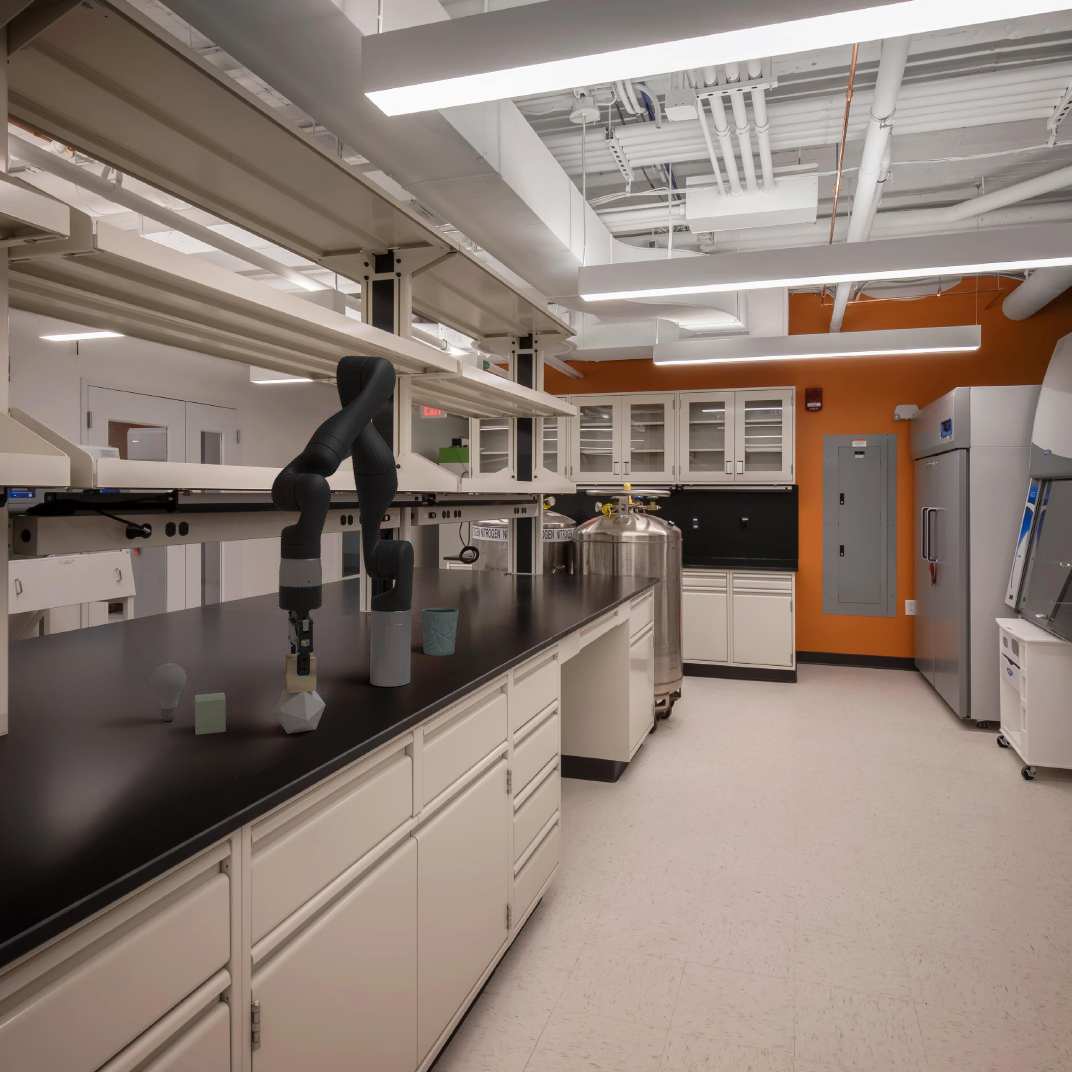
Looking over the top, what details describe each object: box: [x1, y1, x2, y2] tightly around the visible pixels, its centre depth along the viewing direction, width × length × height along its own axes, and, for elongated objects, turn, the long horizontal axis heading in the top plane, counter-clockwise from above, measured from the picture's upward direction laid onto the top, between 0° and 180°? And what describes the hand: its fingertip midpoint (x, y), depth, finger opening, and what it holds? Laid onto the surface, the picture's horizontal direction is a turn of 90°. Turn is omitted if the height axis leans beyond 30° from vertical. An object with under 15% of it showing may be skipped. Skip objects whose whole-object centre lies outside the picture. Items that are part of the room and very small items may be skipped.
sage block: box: [194, 692, 227, 736], centre depth 136 cm, size 5×5×6 cm
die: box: [273, 687, 326, 735], centre depth 137 cm, size 8×9×10 cm
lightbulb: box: [149, 662, 187, 722], centre depth 140 cm, size 6×6×11 cm
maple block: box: [283, 653, 317, 693], centre depth 137 cm, size 5×5×6 cm
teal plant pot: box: [421, 607, 459, 657], centre depth 207 cm, size 10×10×12 cm
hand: (300, 670), depth 137 cm, fingers open, 8 cm apart
